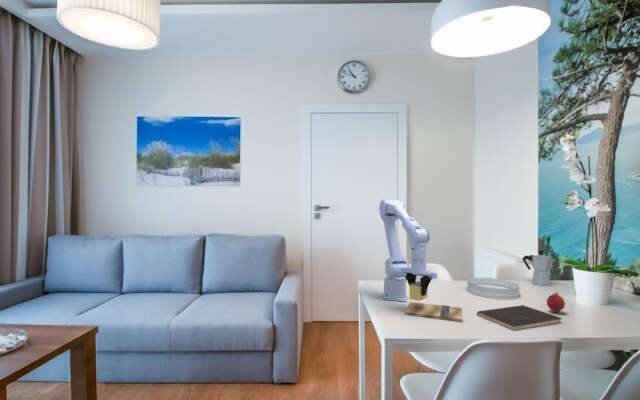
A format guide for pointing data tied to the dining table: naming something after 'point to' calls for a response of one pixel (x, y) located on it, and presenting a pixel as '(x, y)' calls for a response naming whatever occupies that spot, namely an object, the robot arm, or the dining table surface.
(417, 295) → the block
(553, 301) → the onion
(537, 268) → the coffee maker
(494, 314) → the hardcover book
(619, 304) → the dining table surface
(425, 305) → the board
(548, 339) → the dining table surface
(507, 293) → the dish
